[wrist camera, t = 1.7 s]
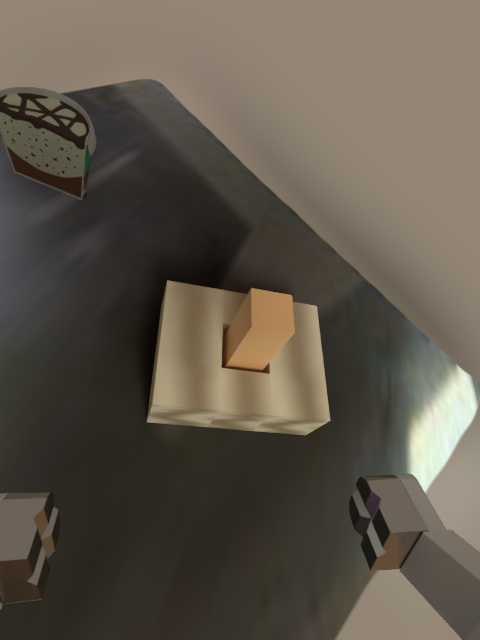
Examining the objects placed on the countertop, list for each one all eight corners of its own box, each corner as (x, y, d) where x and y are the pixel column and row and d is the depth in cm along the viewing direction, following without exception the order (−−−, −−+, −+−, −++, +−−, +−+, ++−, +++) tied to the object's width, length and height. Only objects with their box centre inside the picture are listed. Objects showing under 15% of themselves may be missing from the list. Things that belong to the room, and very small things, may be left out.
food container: (112, 178, 56) (113, 113, 48) (93, 205, 53) (90, 140, 44) (28, 143, 55) (14, 70, 46) (2, 168, 51) (-17, 94, 43)
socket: (146, 422, 40) (152, 404, 36) (160, 308, 48) (167, 280, 43) (305, 435, 45) (330, 420, 40) (296, 329, 52) (316, 306, 47)
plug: (214, 384, 45) (251, 326, 33) (215, 352, 47) (251, 287, 35) (247, 387, 46) (294, 332, 34) (246, 356, 48) (291, 295, 36)
